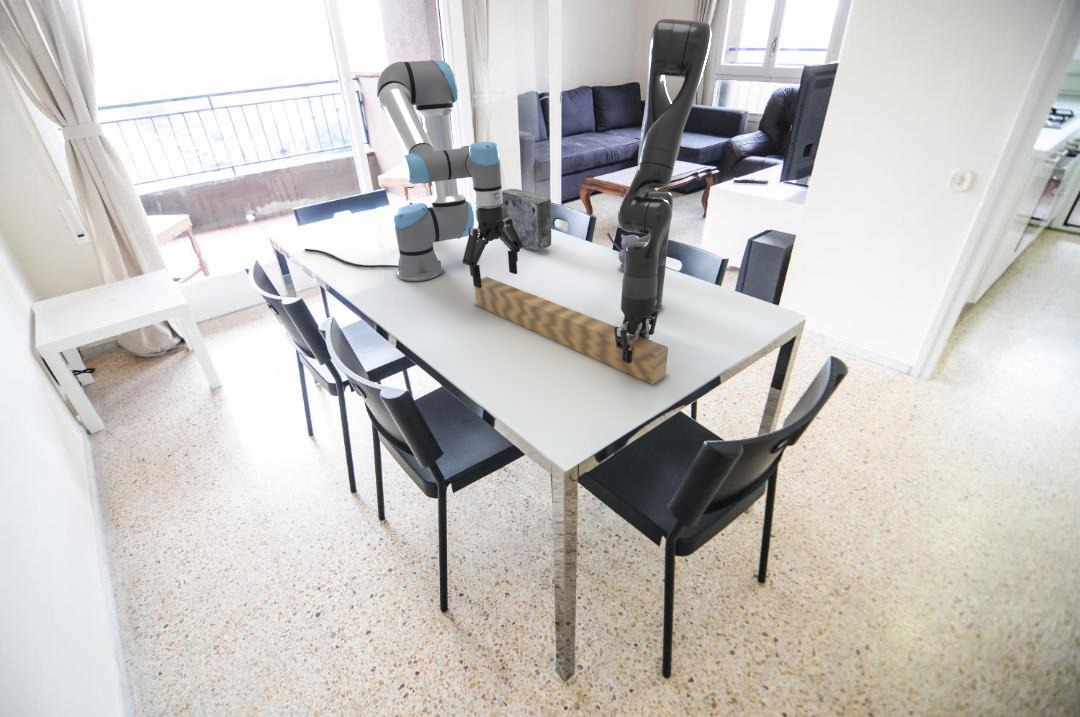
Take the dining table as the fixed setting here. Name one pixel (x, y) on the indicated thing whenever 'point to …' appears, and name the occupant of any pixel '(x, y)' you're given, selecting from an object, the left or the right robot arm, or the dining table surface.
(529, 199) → the concrete block
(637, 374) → the beam
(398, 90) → the left robot arm
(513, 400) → the dining table surface
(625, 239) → the cat figurine
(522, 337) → the dining table surface
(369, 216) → the dining table surface
